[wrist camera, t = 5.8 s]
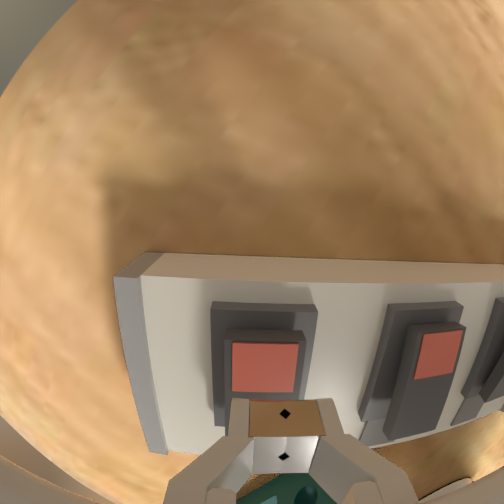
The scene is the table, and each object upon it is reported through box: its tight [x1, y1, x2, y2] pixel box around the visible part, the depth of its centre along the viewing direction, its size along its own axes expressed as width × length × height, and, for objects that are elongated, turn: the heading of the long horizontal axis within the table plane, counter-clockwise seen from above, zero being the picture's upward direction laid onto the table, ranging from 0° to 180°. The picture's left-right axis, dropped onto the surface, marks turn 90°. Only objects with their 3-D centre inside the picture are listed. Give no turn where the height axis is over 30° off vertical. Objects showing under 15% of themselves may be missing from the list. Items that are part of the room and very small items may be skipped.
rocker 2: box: [382, 321, 466, 441], centre depth 12 cm, size 6×3×1 cm, turn 178°
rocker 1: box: [224, 328, 307, 436], centre depth 11 cm, size 6×3×1 cm, turn 178°
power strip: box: [113, 252, 504, 455], centre depth 16 cm, size 12×29×5 cm, turn 88°
